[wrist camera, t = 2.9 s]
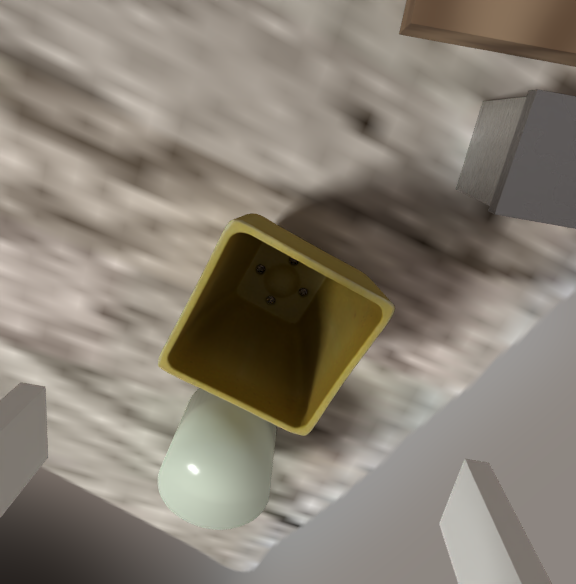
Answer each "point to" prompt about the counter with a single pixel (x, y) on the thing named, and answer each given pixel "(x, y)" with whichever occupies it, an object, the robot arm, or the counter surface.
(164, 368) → the flower pot
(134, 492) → the counter surface
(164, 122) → the counter surface
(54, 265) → the counter surface
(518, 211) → the metal tin
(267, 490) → the pale green rounded cylinder
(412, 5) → the brown curved panel
